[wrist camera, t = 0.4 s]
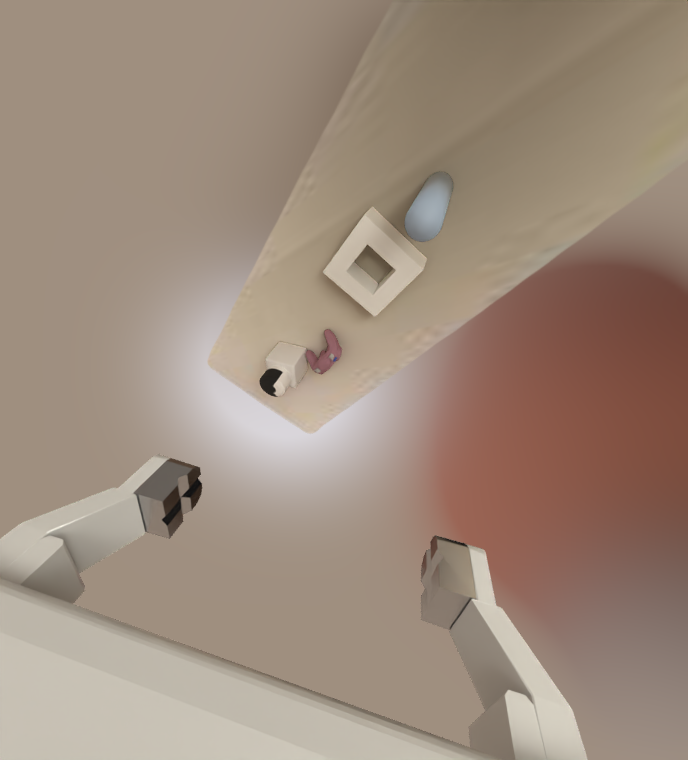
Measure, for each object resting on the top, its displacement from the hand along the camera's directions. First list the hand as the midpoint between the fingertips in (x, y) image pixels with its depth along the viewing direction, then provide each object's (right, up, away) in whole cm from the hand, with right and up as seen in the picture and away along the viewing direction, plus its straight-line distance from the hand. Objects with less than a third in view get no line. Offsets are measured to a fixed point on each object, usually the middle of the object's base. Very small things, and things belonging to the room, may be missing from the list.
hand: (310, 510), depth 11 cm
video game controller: (-3, +12, +61) cm, 62 cm away
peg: (+15, +32, +34) cm, 49 cm away
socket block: (+7, +25, +44) cm, 51 cm away
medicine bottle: (-11, +10, +66) cm, 67 cm away
